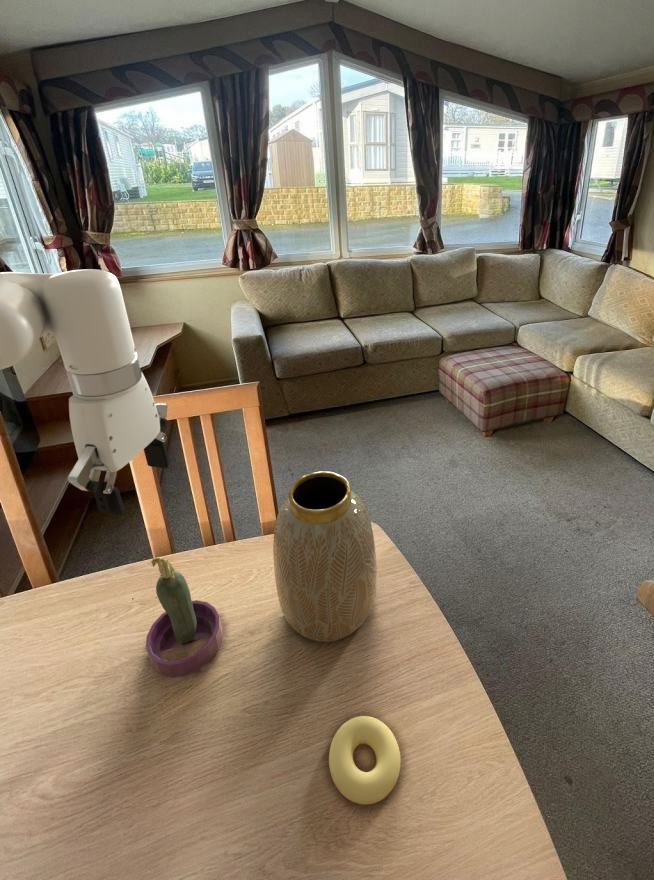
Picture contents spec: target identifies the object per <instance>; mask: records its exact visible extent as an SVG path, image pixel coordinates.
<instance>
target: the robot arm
mask: <svg viewBox="0 0 654 880" xmlns="http://www.w3.org/2000/svg"><path fill="white" fill-rule="evenodd" d="M127 312H128V311H127V308H126V304H125V301H124V296H123V292H122V288H121V285H120V282H119V280H118V278H117V276H116V275H114V274H113V273H111V272H109V271H108V270H103V269H96V268H95V269H93V268H90V269H89V268H87V269H76V270H69V271H64V272H60V273H41V272H40V273H36V272H23V271H22V272H20V271H6V272H5V271H3V272H0V371H1V370H5V369H7V368H10V367H13V366H14V365H17V364H19V363H20V362H22V361H23V360H24V359H26V357H27V356H29V355H30V353H31V352H32V351H33V349H34V348H35V346H36V344H37V343H38V341H39V339H40V338H42V337H44V336H45V335H47V334H52V335H54V337H55V340H56V341H55V342H56V343H57V347H58V350H59V353H60V356H61V359H62V363H63V365H64V369H65V372H66V375H67V378H68V381H69V385H70V387H71V391H72V395H71V396H70V397H69V398H68V412H69V413H68V414H69V422H70V429H71V434H72V435H71V436H72V438H73V443H74V446H75V451H76V455H77V458H78V460H77V461H76V463H75V464H74V466H73V467H72V469H71V471H70V472H69V474H68V477H67V481H68V483H70V484H71V485H73V486H74V487H75V488H77V489H78V490H79V491H84V492H91V493H93V495H94V498H95V501H96V505H97V508H98V510H99V512H100V513H102V514H106V515H113V516H120V517H121V516H122V515H123V514H124V513H125V512H126V511H125V510H126V509H125V506H124V503H123V499H122V495H121V492H120V489H119V488H118V487H115V483H116V478H117V475H118V471H120V470H121V469H123V468H124V467H125V466H127V465H128V464H129V463H130V462H131V461H132V460H134V458H136V457H137V456H138V455H139V454H140V453H141V452H142V451H143V453H144V456H145V460H146V464H147V466H148V467H153V468H160V469H168V468H169V466H170V465H171V464H170V458H169V456H168V452H167V446H166V443H165V442H166V441H167V437H168V435H167V434H166V429H167V427H168V419H167V415H168V404H167V403H161V402H155V399H154V397H153V392H152V391H151V388H150V386H149V384H148V381H147V379H146V377H145V375H144V373H143V371H142V370H141V366H140V362H139V361H140V360H139V355H138V352H137V349H136V346H135V341H134V337H133V334H132V328H131V326H130V325H131V324H130V321H129V316H128V313H127ZM102 472H106V473H105V477H104V481H103V482H102V481H100V476H101V473H102Z"/></svg>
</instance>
